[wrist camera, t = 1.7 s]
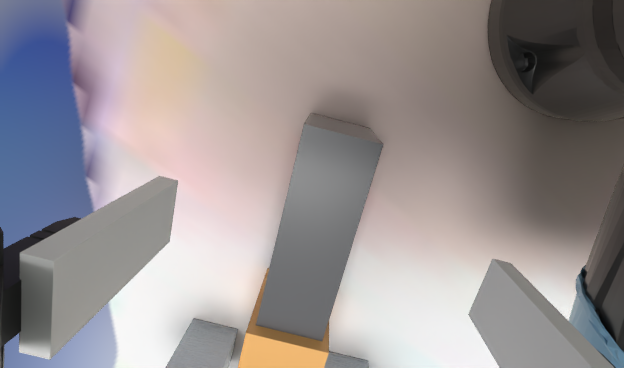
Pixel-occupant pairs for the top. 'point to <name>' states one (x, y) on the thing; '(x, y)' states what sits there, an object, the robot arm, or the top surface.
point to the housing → (228, 349)
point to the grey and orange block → (312, 245)
